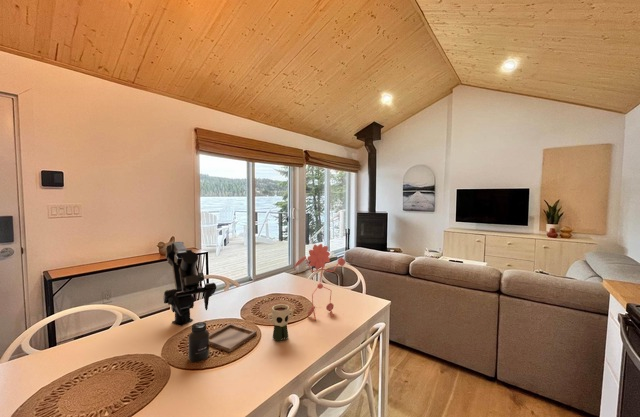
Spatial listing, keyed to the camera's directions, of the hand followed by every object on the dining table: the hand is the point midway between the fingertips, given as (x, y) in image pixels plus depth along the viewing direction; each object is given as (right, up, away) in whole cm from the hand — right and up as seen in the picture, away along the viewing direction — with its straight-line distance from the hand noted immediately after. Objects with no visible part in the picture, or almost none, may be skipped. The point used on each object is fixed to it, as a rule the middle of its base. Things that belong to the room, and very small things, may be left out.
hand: (194, 312), depth 107 cm
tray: (+11, -13, +7) cm, 19 cm away
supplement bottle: (+4, -14, -6) cm, 16 cm away
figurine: (+47, -13, +32) cm, 59 cm away
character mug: (+32, -14, +8) cm, 36 cm away
